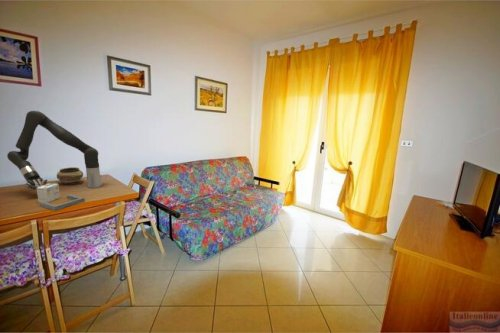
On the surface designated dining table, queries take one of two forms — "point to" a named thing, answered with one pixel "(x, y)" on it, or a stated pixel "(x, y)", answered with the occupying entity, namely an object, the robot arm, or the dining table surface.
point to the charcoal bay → (63, 205)
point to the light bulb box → (48, 192)
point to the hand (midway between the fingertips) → (43, 192)
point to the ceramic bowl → (70, 175)
